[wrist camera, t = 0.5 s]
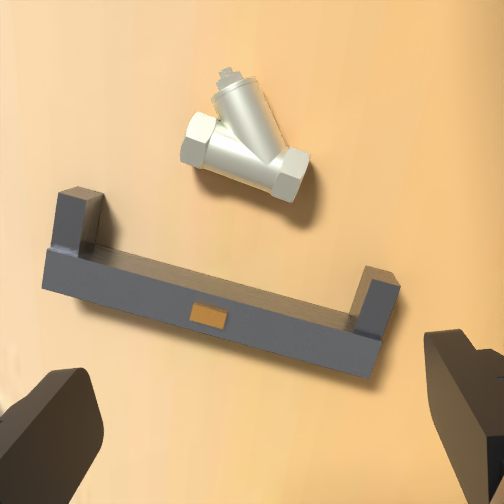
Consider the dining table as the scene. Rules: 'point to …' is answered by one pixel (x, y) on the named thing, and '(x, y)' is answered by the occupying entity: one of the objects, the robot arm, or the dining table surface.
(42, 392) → the robot arm
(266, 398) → the dining table surface
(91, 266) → the stop bracket
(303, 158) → the pipe fitting
